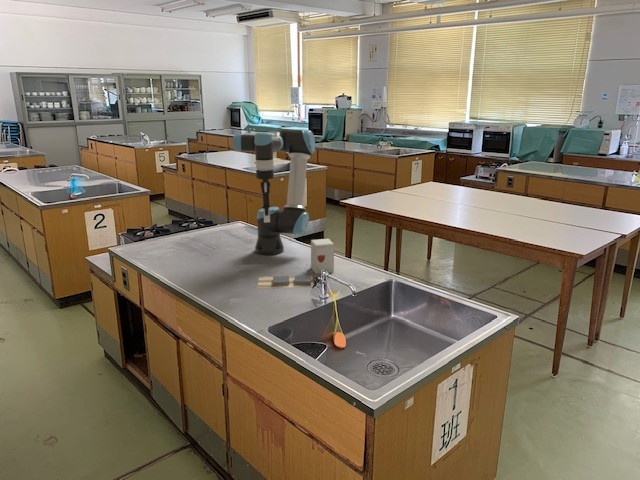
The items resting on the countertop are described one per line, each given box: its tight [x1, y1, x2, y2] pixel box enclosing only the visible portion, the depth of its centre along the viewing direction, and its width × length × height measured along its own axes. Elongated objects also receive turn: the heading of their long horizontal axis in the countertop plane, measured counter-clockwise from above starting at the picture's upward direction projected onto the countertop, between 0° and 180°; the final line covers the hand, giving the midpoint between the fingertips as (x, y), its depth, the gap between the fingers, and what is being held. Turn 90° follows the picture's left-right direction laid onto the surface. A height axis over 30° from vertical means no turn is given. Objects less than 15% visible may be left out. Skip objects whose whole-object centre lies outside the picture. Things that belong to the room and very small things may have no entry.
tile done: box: [294, 274, 312, 285], centre depth 214 cm, size 7×7×2 cm
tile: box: [273, 275, 290, 286], centre depth 214 cm, size 2×7×7 cm
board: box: [257, 274, 314, 289], centre depth 215 cm, size 14×24×1 cm, turn 93°
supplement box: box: [310, 238, 335, 274], centre depth 228 cm, size 9×9×15 cm
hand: (267, 221), depth 218 cm, fingers closed
